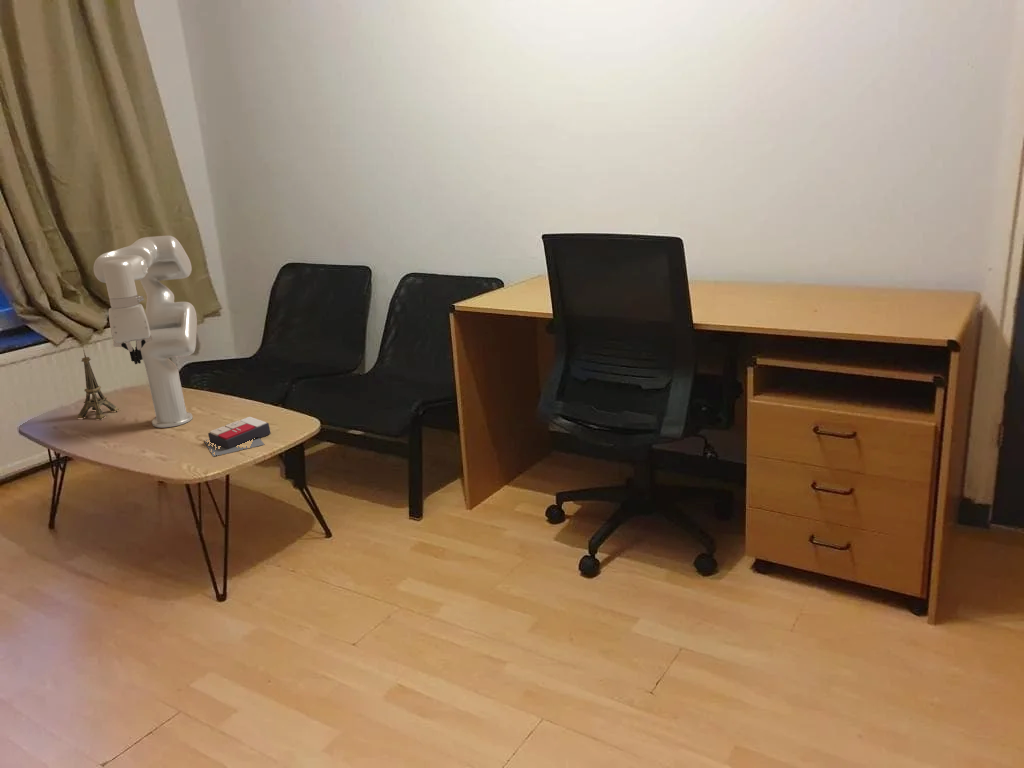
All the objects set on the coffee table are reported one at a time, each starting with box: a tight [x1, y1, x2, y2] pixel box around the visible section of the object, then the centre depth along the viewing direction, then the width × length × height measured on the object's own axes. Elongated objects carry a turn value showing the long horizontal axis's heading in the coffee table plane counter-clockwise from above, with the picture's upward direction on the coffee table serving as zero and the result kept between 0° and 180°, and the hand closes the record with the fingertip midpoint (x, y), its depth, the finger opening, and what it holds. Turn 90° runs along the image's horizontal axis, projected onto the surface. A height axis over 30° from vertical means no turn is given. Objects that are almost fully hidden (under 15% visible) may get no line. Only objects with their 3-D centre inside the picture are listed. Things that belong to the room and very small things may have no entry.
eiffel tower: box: [76, 347, 120, 420], centre depth 278 cm, size 11×11×25 cm
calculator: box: [207, 416, 271, 449], centre depth 249 cm, size 11×4×15 cm
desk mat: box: [203, 437, 265, 458], centre depth 246 cm, size 16×15×1 cm
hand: (137, 362), depth 239 cm, fingers closed
